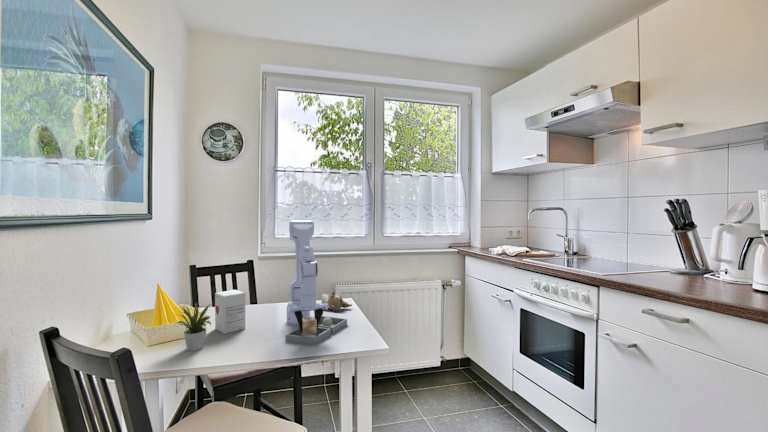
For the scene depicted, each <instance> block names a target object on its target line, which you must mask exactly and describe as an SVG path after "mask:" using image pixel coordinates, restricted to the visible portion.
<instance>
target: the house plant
mask: <svg viewBox="0 0 768 432" xmlns="http://www.w3.org/2000/svg"><path fill="white" fill-rule="evenodd" d="M197 304H198V301H197V302H196V303H195V306H194V308H193V315H191V311H190V309H189V308H188V306H185V305H184V306H183V307H182V306H181V309H182V310H183V311H180V310H179V314H180V313H181V314H180V317H183V319H184V320H185V321H182V320H180V321H179V320H178V321H177V322H176V324H179V326H182V325H184V326H185V328H186V329H185V330H184V331H183V334H184V335H183V336H184V340H185V345H186V350H187V351H188V350H189V351H188V352H194V351H195V352H196V351H199V350H202V349H204V347H205V341H206V334H207V327H206V326H207V325H206V323H207V324H208V325H210V326H212V322H211V321H208V320H209V319H211V315H209V316H204V315H205V314H206V313H207V312H208V311H209V307H210V306H211V305H212V303H210V304H208V305H206V306H205V307H204V309H203V310H202V311H200V312H199V310H200V308H199V307H198V305H197ZM203 306H204V303H203V304H202V305H201V307H203ZM184 307H185V308H184ZM175 310H177V311H178V308H175ZM199 313H200V314H199ZM186 316H187V317H186ZM203 326H204V327H203Z"/></svg>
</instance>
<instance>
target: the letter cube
mask: <svg viewBox="0 0 768 432" xmlns="http://www.w3.org/2000/svg"><path fill="white" fill-rule="evenodd" d="M302 328H303V330H302V332H301V333H302V334H303V335H310V334H317V320H316V319H315V316H310V317H305V318H302Z"/></svg>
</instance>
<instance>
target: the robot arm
mask: <svg viewBox="0 0 768 432" xmlns="http://www.w3.org/2000/svg"><path fill="white" fill-rule="evenodd" d="M288 227H289V228H288V229H289V230H288V231H289V232H288V233H289V239H290V240H291V241H293V242H294V245H295V279H294V280H293V281H291V282H290V284H289V292H288V293H289V295H288V296H289V302H288V304H287V306H286V321H285V323H286V324H292V325H298V328H299V329H300V332H302V330H303V328H302V318H305V317H311V311H313V312H314V317H315V319H316V320H317V330H318V325H319V321H320V319H321V317H322V316H324V310H326V311H327V310H329V308H328V304H327V303H317V277H318V274H319V266H318V261H317V259H315V258H316V257H315V253H314V249H313V247H311V245H310V240H311V239H312V237H313V235H314V232H315V223H314V220H293V219H291V220H290V221H289V226H288Z"/></svg>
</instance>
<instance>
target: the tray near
mask: <svg viewBox="0 0 768 432" xmlns="http://www.w3.org/2000/svg"><path fill="white" fill-rule="evenodd" d="M331 335H332V334H331V329H329V328H322V327H318V330H317V334H310V335H303V334H302V333H301V332H300V329H299V327H298V328H296V329H293V330H292V331H290V332H289V333H286V334H285V335H284V336H285V338H284V339H285V341H284V342H288V343H293V344H300V345H306V346H312V347H314V346H316V345H317V344H319V343H320V342H322V341H324V340H325V339H326V338H328V337H330V336H331Z"/></svg>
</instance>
